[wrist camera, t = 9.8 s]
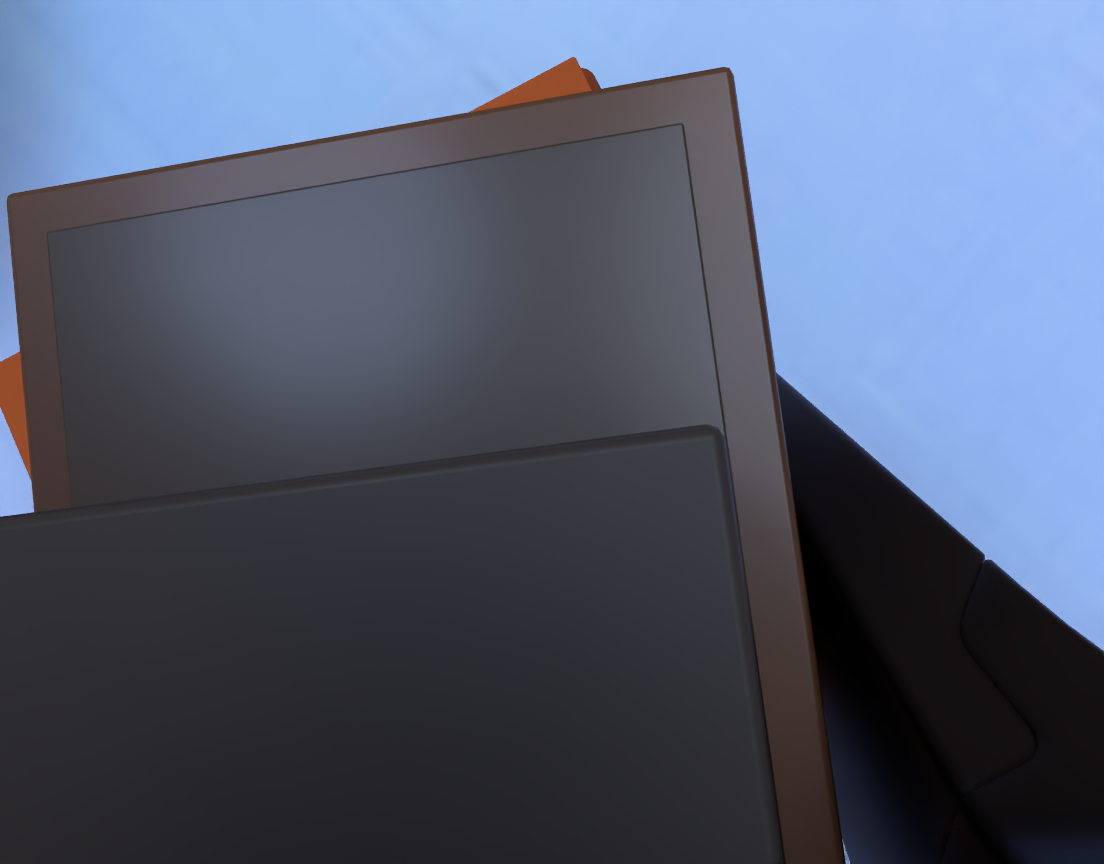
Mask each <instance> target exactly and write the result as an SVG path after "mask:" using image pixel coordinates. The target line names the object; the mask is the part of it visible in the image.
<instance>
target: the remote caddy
mask: <svg viewBox="0 0 1104 864" xmlns="http://www.w3.org/2000/svg"><path fill="white" fill-rule="evenodd" d="M7 211H8V223H9V234H10V245H11V256H12V267H13V278H14V290H15V301H16V312H17V323H18V334H19V345H20V357H21V368H22V379H23V390H24V401H25V412H26V424H27V435H28V446H29V457H30V468H31V480H32V491H33V502H34V513H26V514H19V515H11V516H3V517H0V864H846V862H845V855H844V848H843V841H842V834H841V827H840V820H839V813H838V806H837V799H836V792H835V785H834V778H833V771H832V764H831V757H830V750H829V743H828V736H827V729H826V722H825V715H824V708H823V701H822V694H821V687H820V679H819V672H818V665H817V658H816V651H815V644H814V637H813V630H812V623H811V616H810V609H809V602H808V595H807V588H806V581H805V574H804V567H803V560H802V553H801V546H800V539H799V532H798V525H797V518H796V511H795V503H794V496H793V489H792V482H791V475H790V468H789V461H788V454H787V447H786V440H785V433H784V426H783V419H782V412H781V405H780V398H779V391H778V384H777V377H776V370H775V363H774V356H773V349H772V342H771V335H770V327H769V320H768V313H767V306H766V299H765V292H764V285H763V278H762V271H761V264H760V257H759V250H758V243H757V236H756V229H755V222H754V215H753V208H752V201H751V194H750V187H749V180H748V173H747V166H746V159H745V152H744V144H743V137H742V130H741V123H740V116H739V109H738V102H737V95H736V88H735V81H734V75H733V73H732V72H731V70H730V68H726V67H722V68H716V69H710V70H705V71H699V72H694V73H688V74H682V75H677V76H671V77H665V78H660V79H654V80H649V81H643V82H637V83H632V84H626V85H620V86H615V87H609V88H604V89H598V90H592V91H587V92H581V93H576V94H570V95H564V96H559V97H553V98H547V99H542V100H536V101H531V102H525V103H519V104H514V105H508V106H502V107H497V108H491V109H486V110H480V111H474V112H469V113H463V114H458V115H452V116H446V117H441V118H435V119H429V120H424V121H418V122H413V123H407V124H401V125H396V126H390V127H385V128H379V129H373V130H368V131H362V132H356V133H351V134H345V135H340V136H334V137H328V138H323V139H317V140H311V141H306V142H300V143H295V144H289V145H283V146H278V147H272V148H267V149H261V150H255V151H250V152H244V153H238V154H233V155H227V156H222V157H216V158H210V159H205V160H199V161H194V162H188V163H182V164H177V165H171V166H165V167H160V168H154V169H149V170H143V171H137V172H132V173H126V174H120V175H115V176H109V177H104V178H98V179H92V180H87V181H81V182H76V183H70V184H64V185H59V186H53V187H47V188H42V189H36V190H31V191H25V192H19V193H14V194H11V195H9V196H8V198H7Z"/></svg>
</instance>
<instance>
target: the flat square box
mask: <svg viewBox="0 0 1104 864" xmlns="http://www.w3.org/2000/svg"><path fill="white" fill-rule="evenodd" d="M598 89H601V88H600V86H599V84H598V82H597V80H596V78H595V76H594V75H593V73H592V72H590V71H589V70H587V69H584V68H580V66H579V64H578V62H577V60H576V58H575V57H572V58H570V59H568V60H566V61H565V62H563V63H561V64H559V65H557V66H555V67H553V68H551V69H549V70H548V71H546V72H544V73H542V74H540V75H538V76H536V77H534V78H533V79H531V80H529V81H527V82H525V83H523V84H521V85H519V86H518V87H516V88H514V89H512V90H510V91H508V92H506V93H504V94H503V95H501V96H499V97H497V98H495V99H493V100H491V101H489V102H488V103H486V104H484V105H482V106H480V107H478V108H476V109H474V110H473V111H471V112H474V111H480V110H486V109H491V108H497V107H502V106H508V105H514V104H519V103H525V102H531V101H536V100H542V99H547V98H553V97H559V96H564V95H570V94H576V93H581V92H587V91H592V90H598ZM0 407H1V409H2V412H3V414H4V417H5V419H6V421H7V424H8V426H9V428H10V431H11V433H12V436H13V438H14V440H15V443H16V445H17V448H18V450H19V452H20V455H21V457H22V459H23V462H24V464H25V467H26V469H27V471H28V474H29V476H30V479H31V468H30V457H29V446H28V435H27V424H26V412H25V401H24V390H23V379H22V368H21V357H20V352H18V353H16V354H15V355H13V356H11V357H9V358H7V359H5V360H3V361H1V362H0ZM31 481H32V480H31Z"/></svg>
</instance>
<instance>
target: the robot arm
mask: <svg viewBox="0 0 1104 864" xmlns="http://www.w3.org/2000/svg"><path fill="white" fill-rule="evenodd" d="M776 377H777V384H778V391H779V398H780V405H781V412H782V419H783V426H784V433H785V440H786V447H787V454H788V461H789V468H790V475H791V482H792V489H793V496H794V503H795V511H796V518H797V525H798V532H799V539H800V546H801V553H802V560H803V567H804V574H805V581H806V588H807V595H808V602H809V609H810V616H811V623H812V630H813V637H814V644H815V651H816V658H817V665H818V672H819V679H820V687H821V694H822V701H823V708H824V715H825V722H826V729H827V736H828V743H829V750H830V757H831V764H832V771H833V778H834V785H835V792H836V799H837V806H838V813H839V820H840V827H841V834H842V839H843V842H844V845H845V848H846V851H847V854H848V857H849V860H850V863H851V864H1104V651H1103V650H1101V649H1100V648H1099V647H1097V646H1096V645H1095V644H1093V643H1092V642H1091V641H1089V640H1088V639H1087V638H1085V637H1084V636H1083V635H1081V634H1080V633H1079V632H1077V631H1076V630H1074V629H1073V628H1072V627H1070V626H1069V625H1068V624H1066V623H1065V622H1064V621H1063V620H1062V619H1060V618H1059V617H1058V616H1057V615H1056V614H1054V613H1053V612H1052V611H1051V610H1050V609H1048V608H1047V607H1046V606H1045V605H1043V604H1042V603H1041V602H1040V601H1039V600H1037V599H1036V598H1035V597H1034V596H1033V595H1031V594H1030V593H1029V592H1028V591H1027V590H1025V589H1024V588H1023V587H1022V586H1020V585H1019V584H1018V583H1017V582H1016V581H1015V580H1014V579H1012V578H1011V577H1010V576H1009V575H1008V574H1007V573H1006V572H1004V571H1003V570H1002V569H1001V568H1000V567H999V566H998V565H996V564H995V563H994V562H993V561H992V560H985V555H984V554H983V553H982V552H981V551H980V550H979V549H978V548H977V547H975V546H974V545H973V544H972V543H971V542H970V541H969V540H967V539H966V538H965V537H964V536H963V535H962V534H960V533H959V532H958V531H957V530H956V529H955V528H954V527H952V526H951V525H950V524H949V523H948V522H947V521H946V520H944V519H943V518H942V517H941V516H940V515H939V514H938V513H936V512H935V511H934V510H933V509H932V508H931V507H930V506H928V505H927V504H926V503H925V502H924V501H923V500H922V499H920V498H919V497H918V496H917V495H916V494H915V493H914V492H912V491H911V490H910V489H909V488H908V487H907V486H906V485H904V484H903V483H902V482H901V481H900V480H899V479H898V478H896V477H895V476H894V475H893V474H892V473H891V472H889V471H888V470H887V469H886V468H885V467H884V466H883V465H881V464H880V463H879V462H878V461H877V460H876V459H875V458H873V457H872V456H871V455H870V454H869V453H868V452H867V451H865V450H864V449H863V448H862V447H861V446H860V445H859V444H857V443H856V442H855V441H854V440H853V439H852V438H851V437H849V436H848V435H847V434H846V433H845V432H844V431H843V430H841V429H840V428H839V427H838V426H837V425H836V424H835V423H833V422H832V421H831V420H830V419H829V418H828V417H827V416H825V415H824V414H823V413H822V412H821V411H820V410H818V409H817V408H816V407H815V406H814V405H813V404H812V403H810V402H809V401H808V400H807V399H806V398H805V397H804V396H802V395H801V394H800V393H799V392H798V391H797V390H796V389H794V388H793V387H792V386H791V385H790V384H789V383H788V382H786V381H785V380H784V379H783V378H782V377H781V376H780V375H778V374H777V373H776ZM984 560H985V561H984Z"/></svg>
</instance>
